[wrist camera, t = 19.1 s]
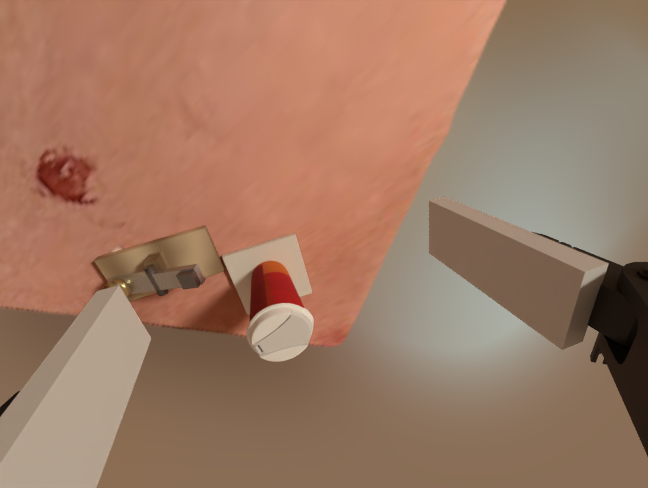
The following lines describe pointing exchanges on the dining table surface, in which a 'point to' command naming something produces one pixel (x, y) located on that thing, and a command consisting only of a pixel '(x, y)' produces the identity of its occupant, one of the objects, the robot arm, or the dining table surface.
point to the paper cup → (277, 314)
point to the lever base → (164, 256)
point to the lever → (158, 279)
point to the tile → (272, 250)
